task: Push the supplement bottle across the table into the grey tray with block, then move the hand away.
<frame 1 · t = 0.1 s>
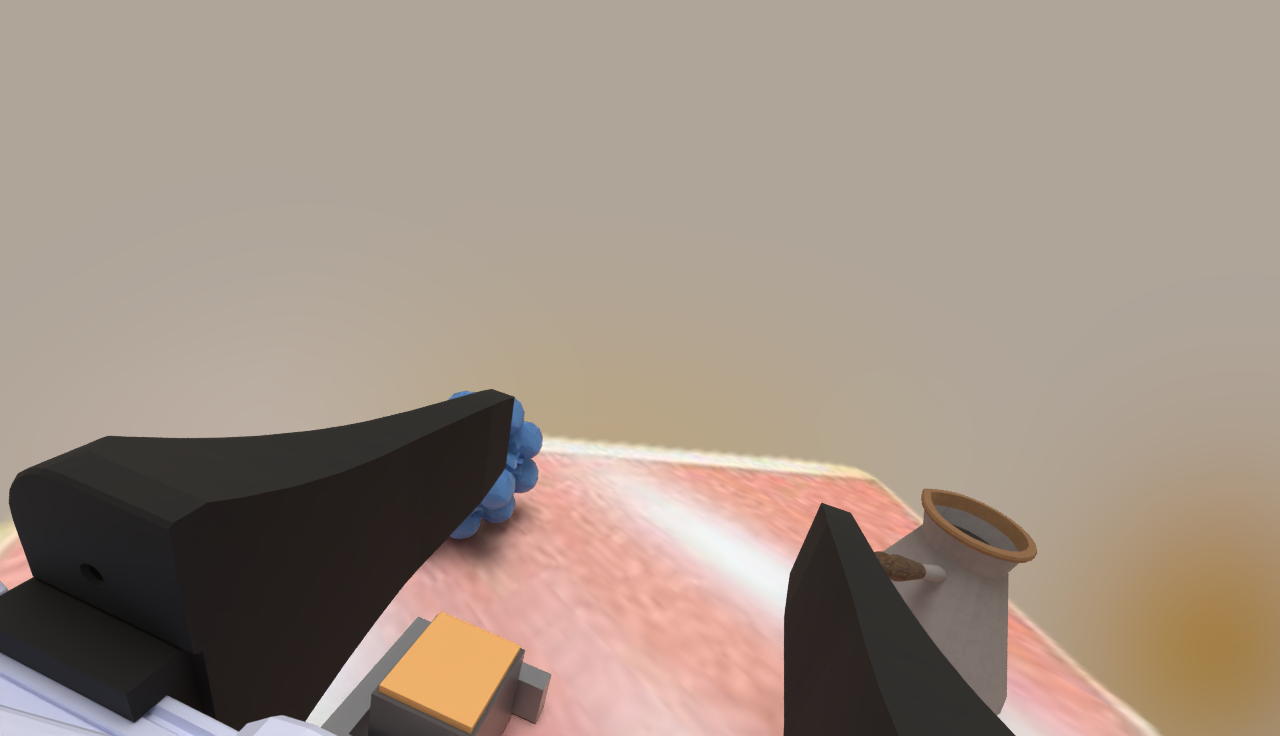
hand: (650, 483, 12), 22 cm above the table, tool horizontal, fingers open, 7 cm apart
coffee pot: (856, 702, 35), on the table
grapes: (468, 545, 39), on the table
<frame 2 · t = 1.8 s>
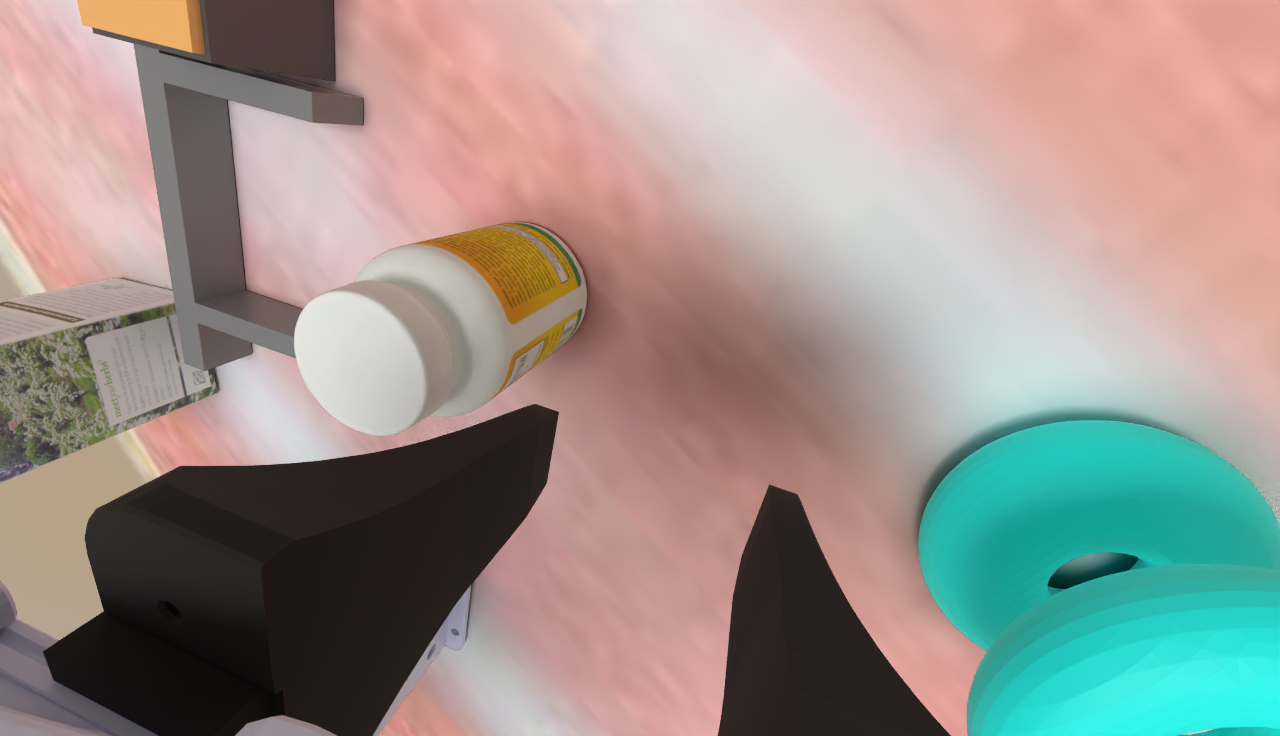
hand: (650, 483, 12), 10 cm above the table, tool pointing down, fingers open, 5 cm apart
supplement bottle: (532, 285, 23), on the table
syrup box: (175, 334, 30), on the table
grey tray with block: (284, 166, 24), on the table
donuts: (1060, 525, 20), on the table
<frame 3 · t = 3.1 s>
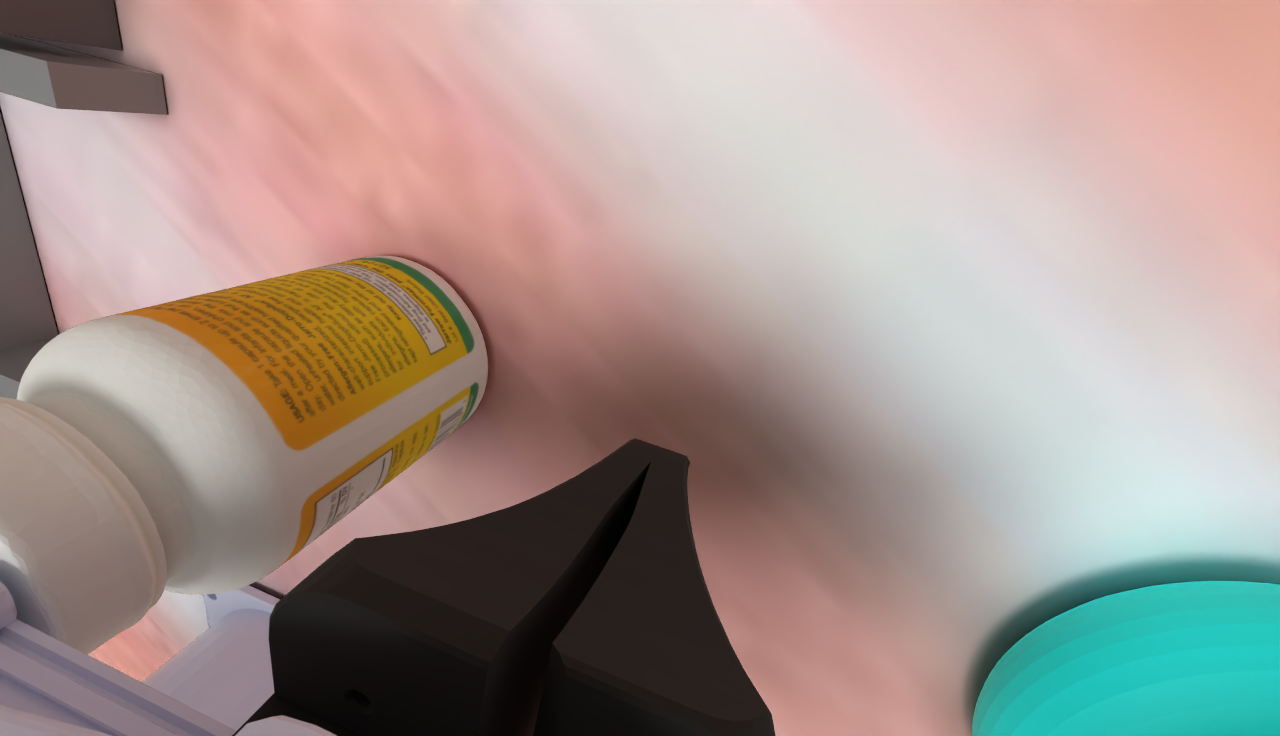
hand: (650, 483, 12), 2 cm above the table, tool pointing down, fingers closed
supplement bottle: (416, 342, 16), on the table
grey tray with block: (77, 172, 17), on the table
donuts: (1185, 711, 13), on the table
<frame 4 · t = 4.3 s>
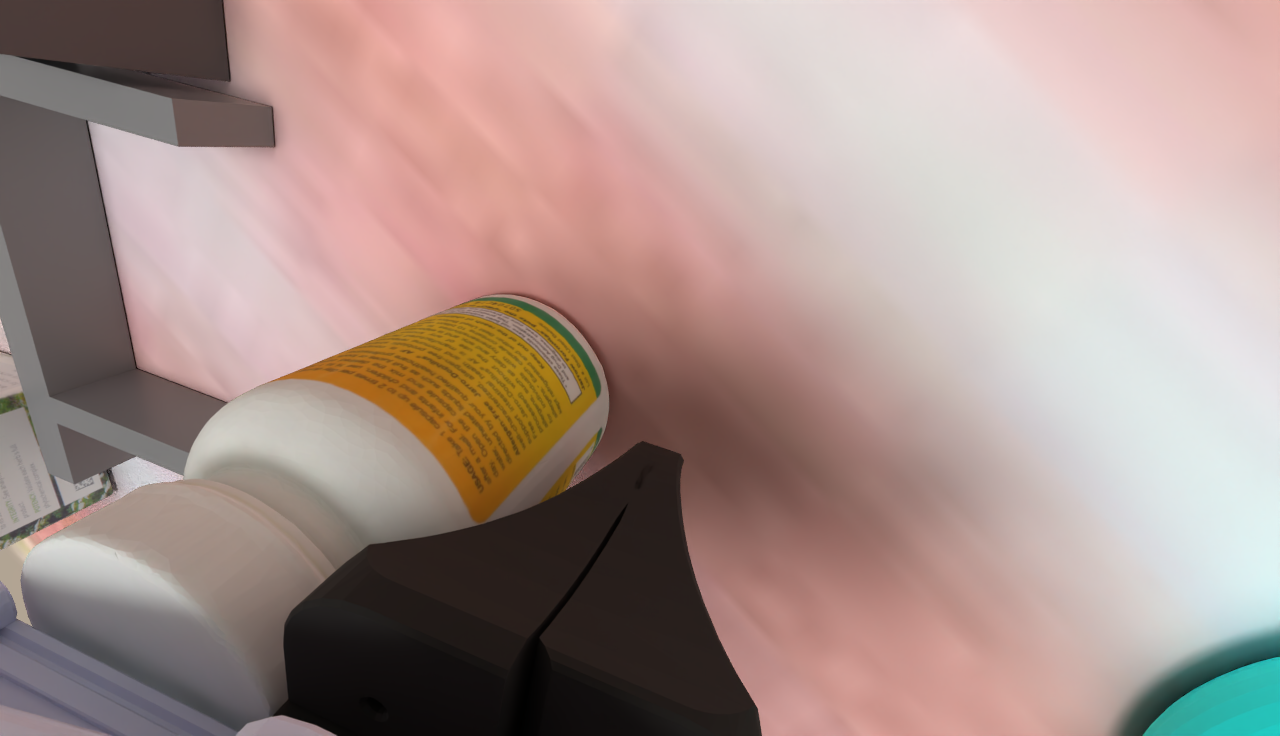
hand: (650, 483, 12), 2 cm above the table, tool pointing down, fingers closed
supplement bottle: (527, 380, 15), on the table, touching gripper
syrup box: (57, 418, 22), on the table
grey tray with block: (170, 204, 16), on the table
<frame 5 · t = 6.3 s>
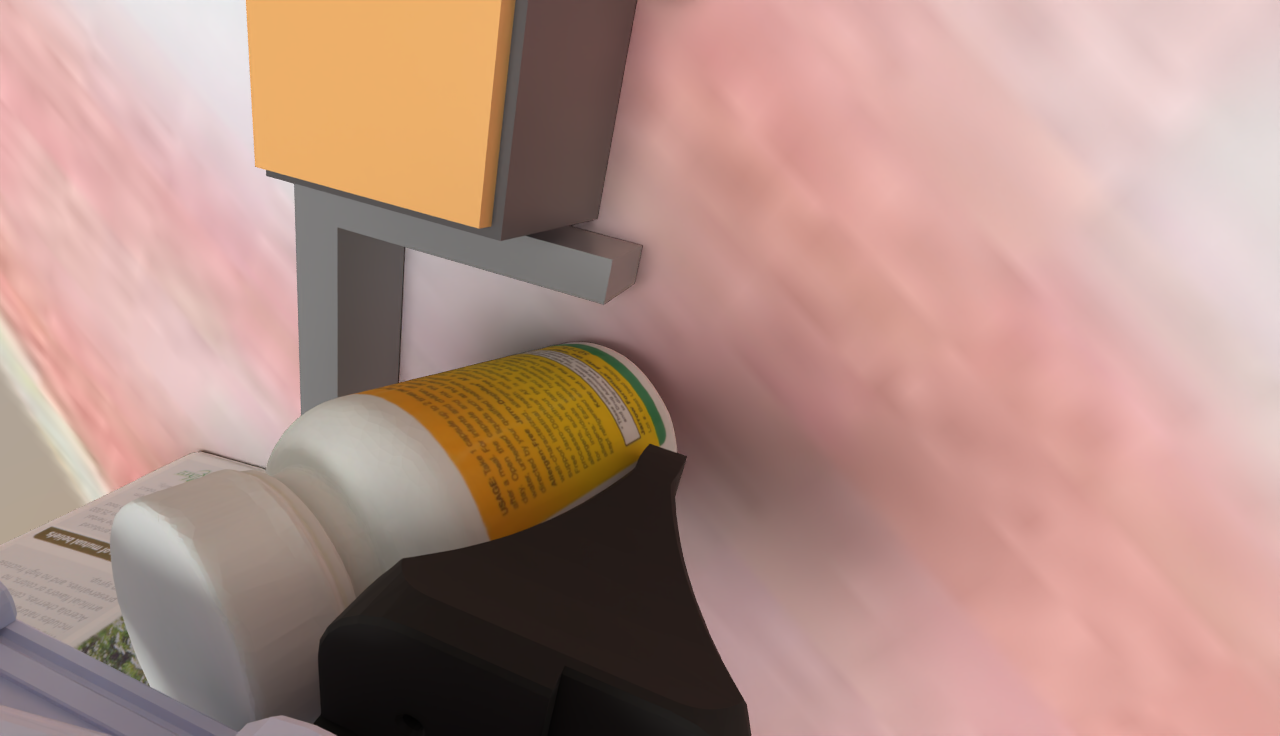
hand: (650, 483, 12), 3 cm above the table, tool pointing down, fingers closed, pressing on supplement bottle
supplement bottle: (601, 430, 15), on the table, touching gripper
syrup box: (272, 523, 21), on the table
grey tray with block: (486, 330, 16), on the table
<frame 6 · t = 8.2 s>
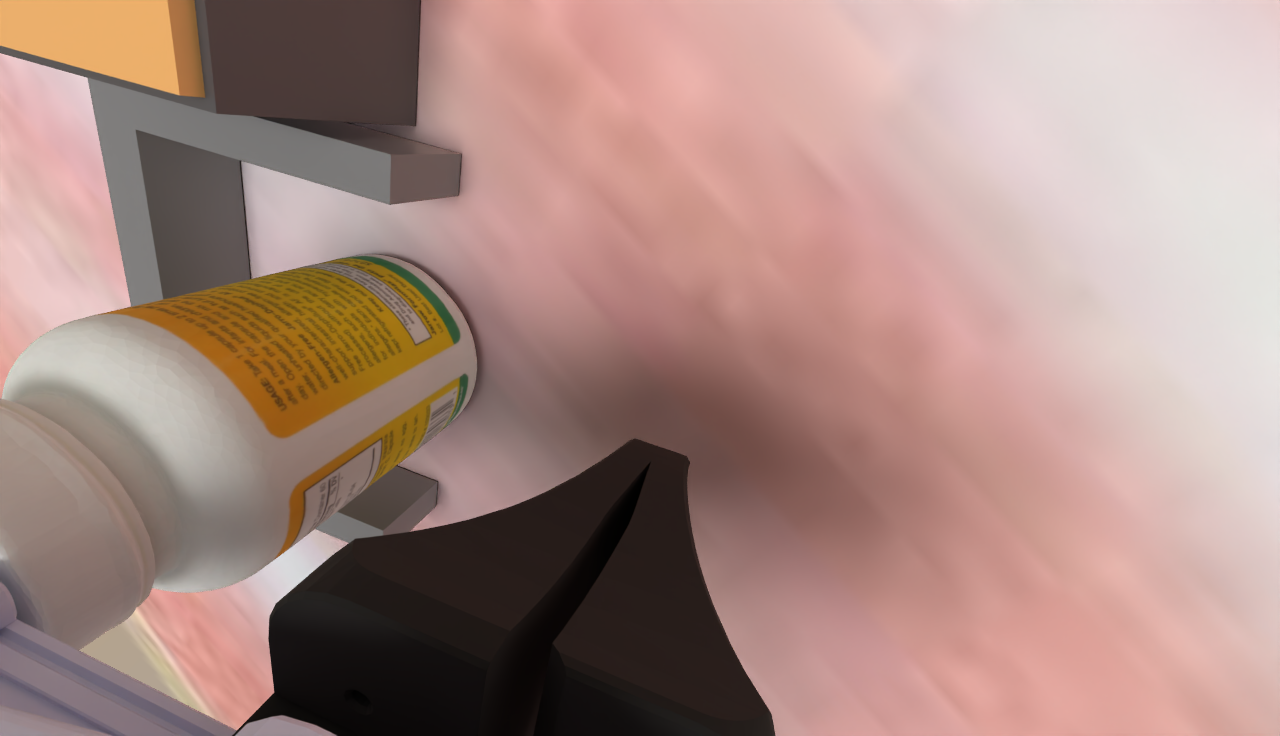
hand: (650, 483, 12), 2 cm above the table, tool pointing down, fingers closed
supplement bottle: (404, 340, 16), on the table
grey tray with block: (326, 250, 15), on the table
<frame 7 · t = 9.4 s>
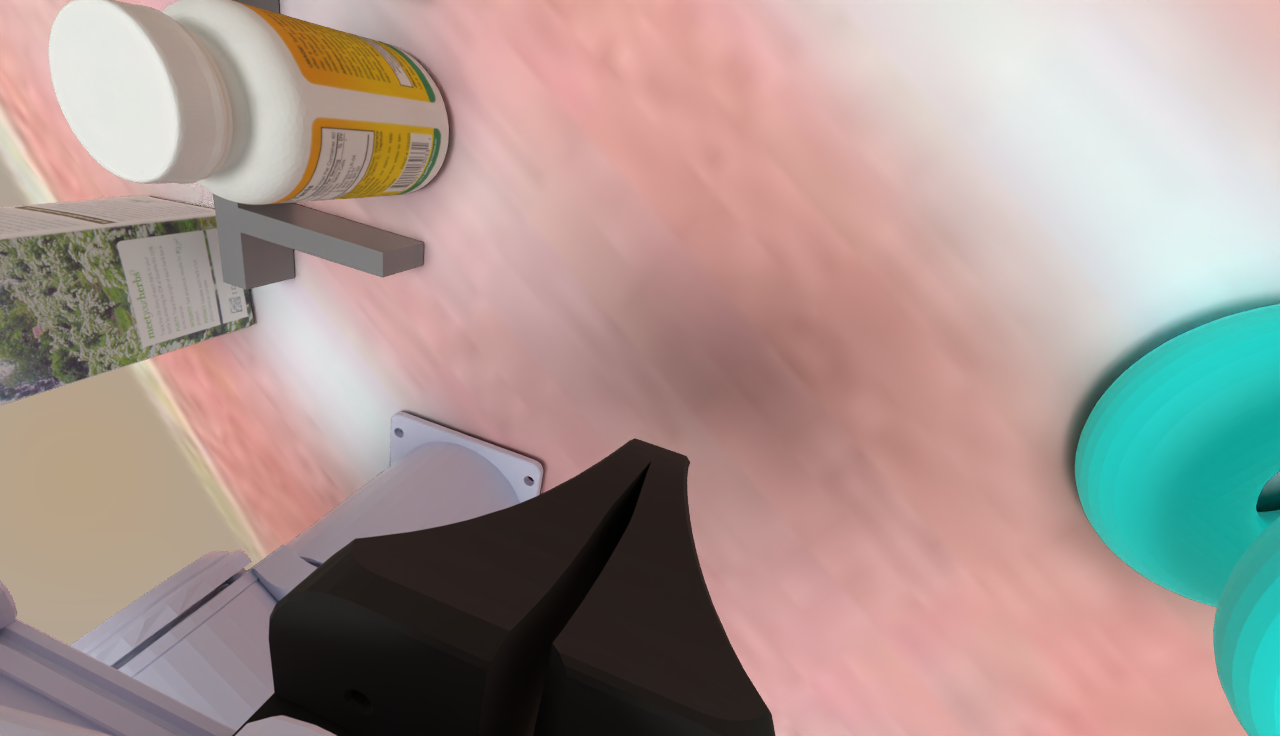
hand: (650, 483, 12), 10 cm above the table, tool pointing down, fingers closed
supplement bottle: (398, 122, 22), on the table
syrup box: (208, 260, 27), on the table
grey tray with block: (340, 49, 21), on the table
donuts: (1241, 439, 18), on the table
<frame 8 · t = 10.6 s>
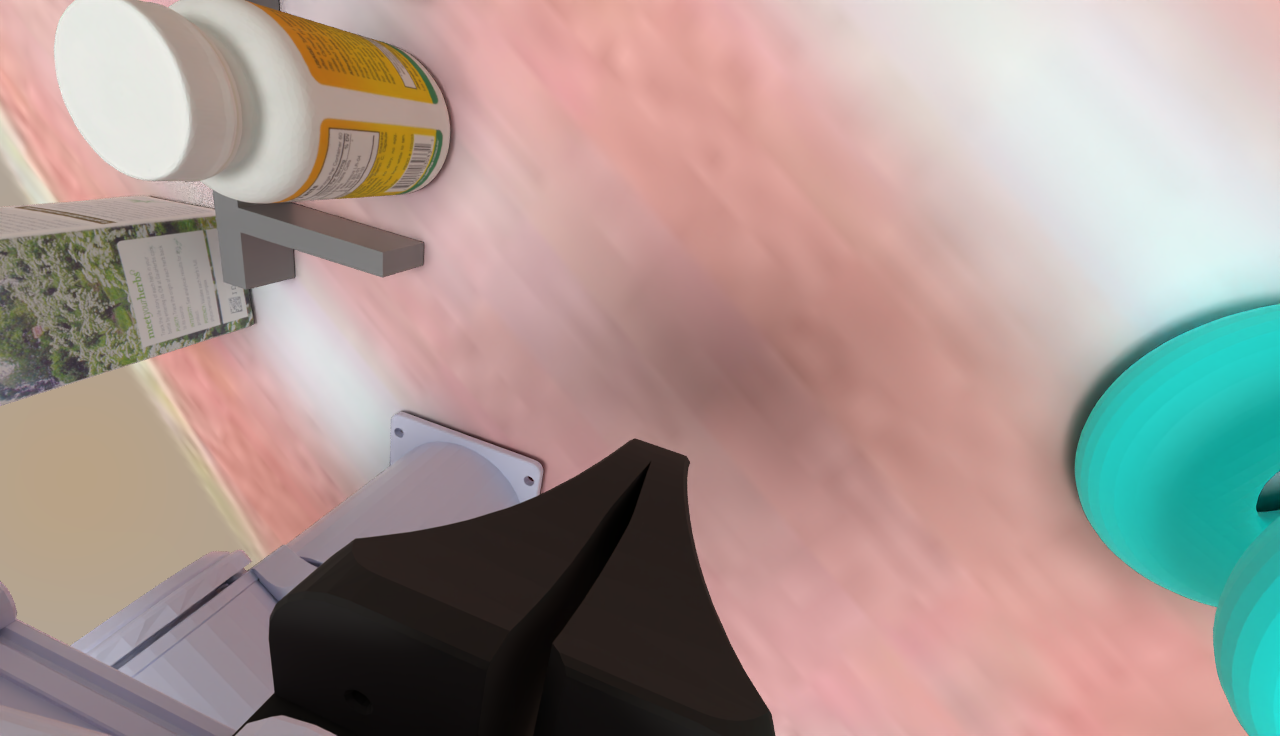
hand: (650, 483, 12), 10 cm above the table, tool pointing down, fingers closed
supplement bottle: (398, 122, 22), on the table
syrup box: (208, 260, 27), on the table
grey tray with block: (340, 49, 21), on the table
donuts: (1241, 439, 18), on the table
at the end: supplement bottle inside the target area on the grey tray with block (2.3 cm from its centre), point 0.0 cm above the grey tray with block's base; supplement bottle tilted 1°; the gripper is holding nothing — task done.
